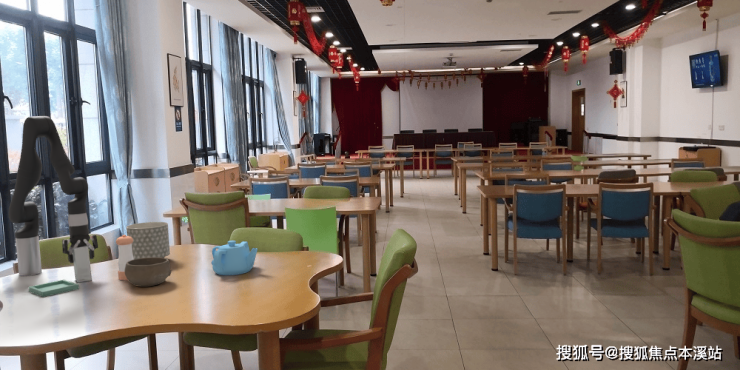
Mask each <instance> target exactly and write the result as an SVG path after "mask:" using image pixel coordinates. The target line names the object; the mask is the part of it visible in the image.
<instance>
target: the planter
mask: <svg viewBox="0 0 740 370" xmlns="http://www.w3.org/2000/svg"><path fill="white" fill-rule="evenodd" d="M125 228H126V229H125V230H126V236H130V237H132V238H133V243H131V244H132V254H133V258H134V259H139V258H147V257H161V258H166V257H167V256H169V255H171V253H170V252H171V251H170V236H169V235H170V233H169V223H168V222H165V221H149V222H147V221H146V222H139V223H131V224H129V225H127V226H126V227H125Z"/></svg>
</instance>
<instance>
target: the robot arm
mask: <svg viewBox="0 0 740 370" xmlns="http://www.w3.org/2000/svg"><path fill="white" fill-rule="evenodd" d="M21 138H22V142H21V151H20V157H19V163H18V166H17V172H16V173H17V174H16V179H15V185H14V190H13V193H12V197H11V200H10V202H9V203H10V204H9V208H8V218H9V220H10V222H11V223H12V224H23V223H24V225H23V226H22V227H21V228H19V229H18V230H16V231H15V233H14V236H15V245H16V257H17V268H18V269H17V270H18V275H19V276H21V277H24V276H25V277H27V276H29V277H30V276H34V275H39V274H41V273H43V272H42V259H41V251H40V250H41V249H40V239H39V237H40V236H39V230H40V222H39V221H40V220H39V215H40V214H39V208H38V206H37V204H36V202H34V201H26V200H27V198H28V196H29V194H30V193H31V192H32V191H33V189H34V188H35V187H36V186H37V184H38V183H39V181H40V180H41V177H42V169H43V163H42V160H41V157H40V156H39V154H38V152H37V149H36V147H37V146H36V145H37V139H39V138H46V140H47V141H48V142H49V144H50V155H49V159H50V164H51V165H52V167H53V169H54V171H55V172H56V173H57V177H58V180H59V181H58V182H59V186H60V189H61V191H62V192H63V193H64V194H65V195H67V196H73V195H74V198H73V199H71V200H69V201H68V202H67V215H68V216H67V217H68V219H67V222H68V231H69V239H68V238H67V239H62V241H61V242H62V244H61V245H62V254H64V255H67V259H68V260H67V261H68V262H69V263H70V264H74V260H73V254H72V253H73V252H74V249H75V248H78V247H84V246H88V250H89V259H90V260H93V259H94V258H95V250H96V249H98V248H99V244H98V243H99V242H98V237H97V235H96V234H91V235H90V233H89V232H90V231H89V221H88V215H87V206H86V203H87V198H88V192H89V184H88V181H87V179H85V178H84V177H81V176H79V177H71V176H72V175H73V174H74V173H75V171H76V169H75V167H74V165H73V163H72V161H71V160H70V159H69V158H70V157H69V156H68V154H67V152H66V151H65V149H64V146H63V145H64V144H63V142H62V139H61V137H60V135H59V132H58V129H57V127H56V124H55V122H54V120H53V119H52V117H50V116H47V115H39V116H38V115H37V116H36V115H35V116H32V115H31V116H28V117H26V118H25V120H24V123H23V126H22V137H21ZM90 240H91V241H92V244H91V243H90V242H89V241H90ZM69 244H71V245H70V246H69ZM68 246H69V247H68Z"/></svg>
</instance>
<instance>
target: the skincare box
mask: <svg viewBox="0 0 740 370" xmlns="http://www.w3.org/2000/svg"><path fill="white" fill-rule="evenodd" d="M72 254H73V260H74V263H73V272H74V279H75V280H76V282H77V283H82V282H90V281H92V280H93V276H92V270H91V259H90V256H89V249H88V246H84V247H78V248H75V249H74V252H73V253H72Z"/></svg>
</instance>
